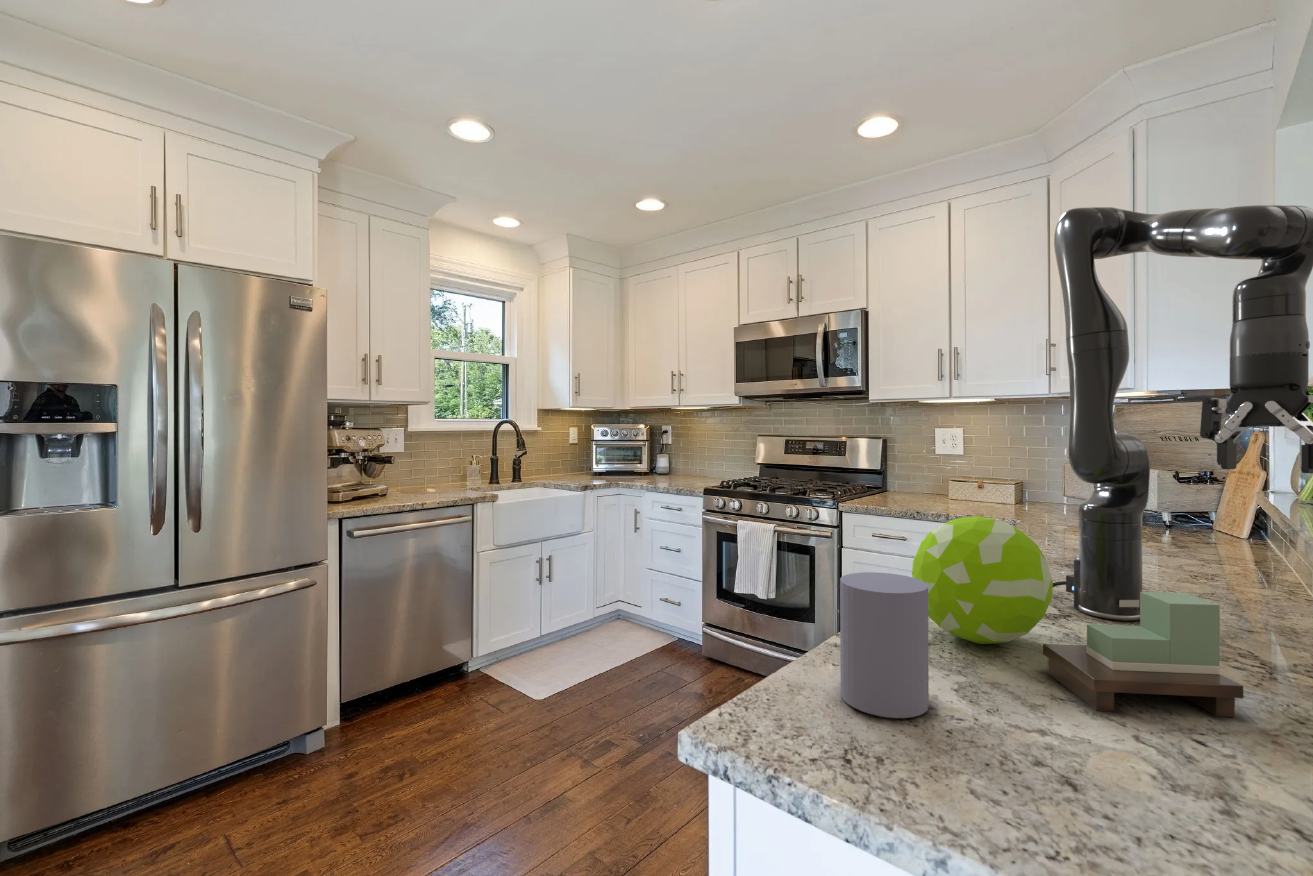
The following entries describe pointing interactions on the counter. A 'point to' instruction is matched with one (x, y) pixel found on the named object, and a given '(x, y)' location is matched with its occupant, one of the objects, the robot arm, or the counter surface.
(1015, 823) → the counter surface
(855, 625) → the container
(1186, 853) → the counter surface
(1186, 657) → the sage green stepped block
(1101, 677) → the shoe shelf
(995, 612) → the melon
